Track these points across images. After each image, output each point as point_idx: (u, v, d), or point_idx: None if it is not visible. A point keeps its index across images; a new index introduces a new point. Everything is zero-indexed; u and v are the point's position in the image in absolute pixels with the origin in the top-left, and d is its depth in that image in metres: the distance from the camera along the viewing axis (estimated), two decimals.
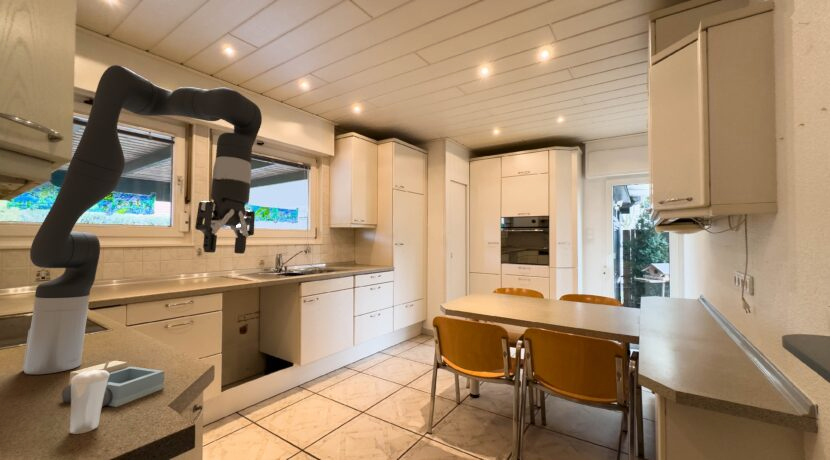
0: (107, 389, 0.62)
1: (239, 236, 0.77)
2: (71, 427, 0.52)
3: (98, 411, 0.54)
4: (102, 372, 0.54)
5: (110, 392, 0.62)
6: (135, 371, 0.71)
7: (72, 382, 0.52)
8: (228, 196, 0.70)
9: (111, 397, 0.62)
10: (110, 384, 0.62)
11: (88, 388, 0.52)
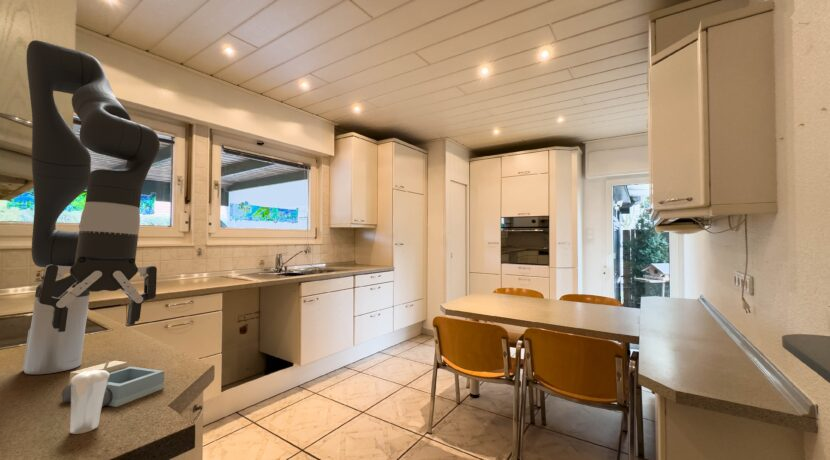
0: (107, 389, 0.62)
1: (66, 305, 0.52)
2: (71, 427, 0.52)
3: (98, 411, 0.54)
4: (102, 372, 0.54)
5: (110, 392, 0.62)
6: (135, 371, 0.71)
7: (72, 382, 0.52)
8: None
9: (111, 397, 0.62)
10: (110, 384, 0.62)
11: (88, 388, 0.52)
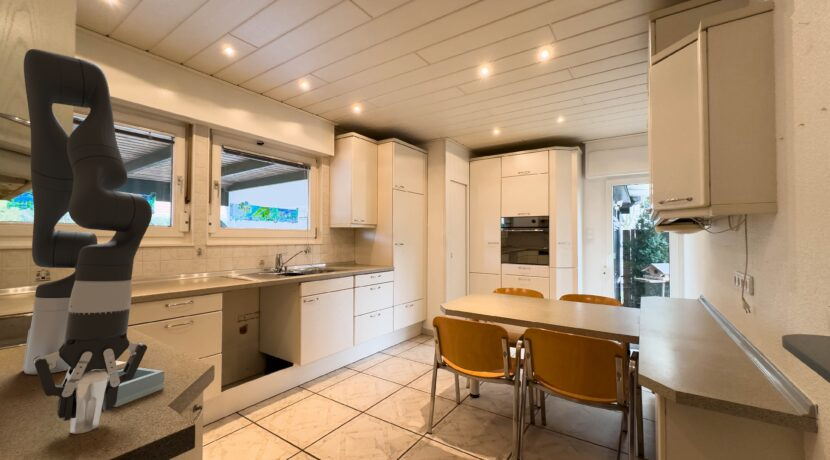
0: None
1: None
2: (71, 426, 0.52)
3: (98, 411, 0.54)
4: (104, 372, 0.55)
5: None
6: None
7: None
8: None
9: None
10: None
11: (89, 388, 0.53)
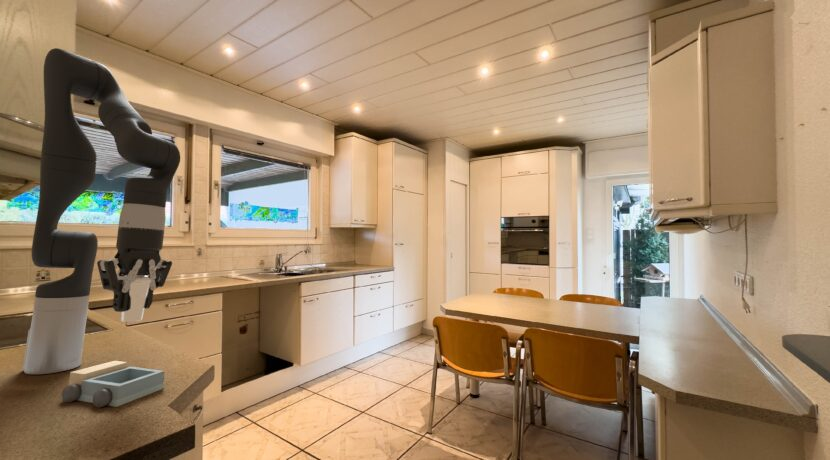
0: (107, 389, 0.62)
1: None
2: (125, 316, 0.66)
3: (144, 307, 0.69)
4: (147, 277, 0.70)
5: (110, 392, 0.62)
6: (135, 371, 0.71)
7: None
8: None
9: (111, 397, 0.62)
10: (110, 384, 0.62)
11: (142, 287, 0.68)
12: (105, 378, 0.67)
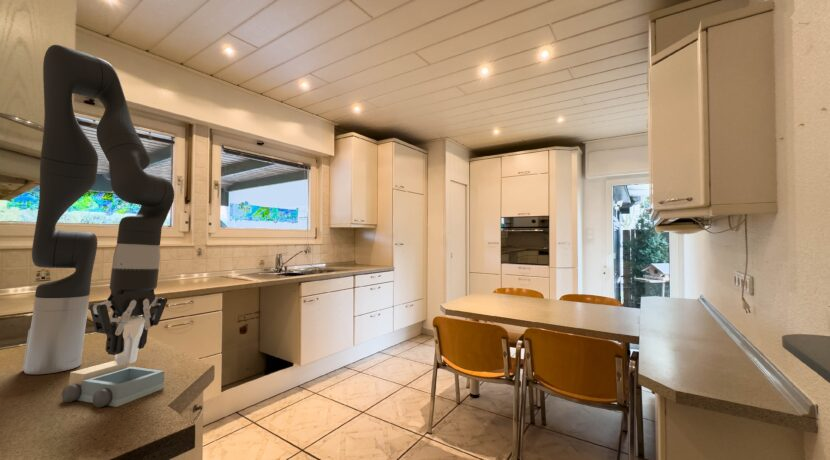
0: (107, 389, 0.62)
1: None
2: (118, 359, 0.65)
3: (138, 348, 0.68)
4: (142, 317, 0.69)
5: (110, 392, 0.62)
6: (135, 371, 0.71)
7: None
8: None
9: (111, 397, 0.62)
10: (110, 384, 0.62)
11: (136, 328, 0.67)
12: (105, 378, 0.67)
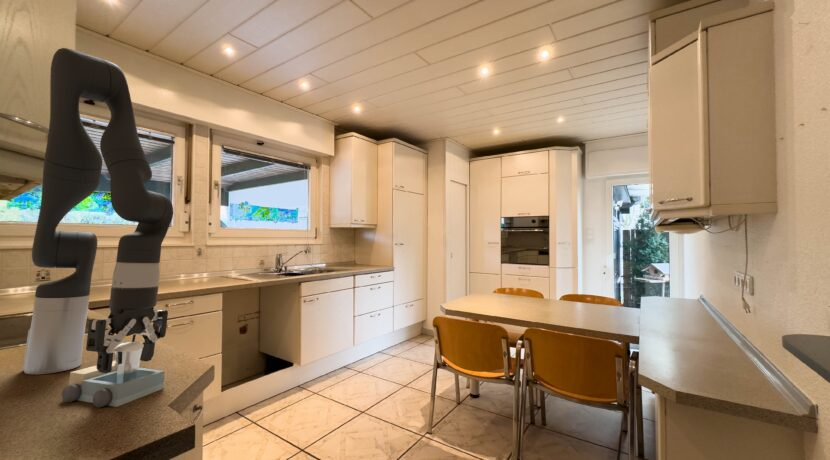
0: (107, 389, 0.62)
1: None
2: None
3: (137, 373, 0.68)
4: (140, 342, 0.68)
5: (110, 392, 0.62)
6: None
7: (119, 350, 0.65)
8: None
9: (111, 397, 0.62)
10: (110, 384, 0.62)
11: (134, 354, 0.67)
12: (105, 378, 0.67)
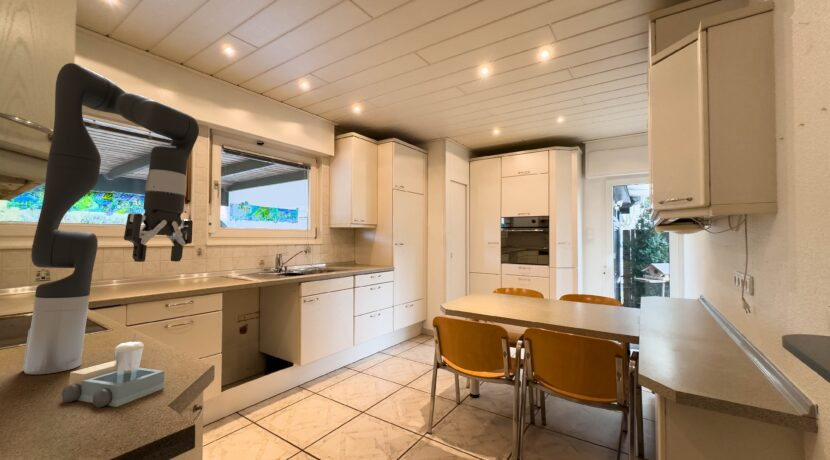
0: (107, 389, 0.62)
1: None
2: None
3: (137, 373, 0.68)
4: (140, 342, 0.69)
5: (110, 392, 0.62)
6: None
7: (120, 350, 0.65)
8: None
9: (111, 397, 0.62)
10: (110, 384, 0.62)
11: (134, 354, 0.67)
12: (105, 378, 0.67)
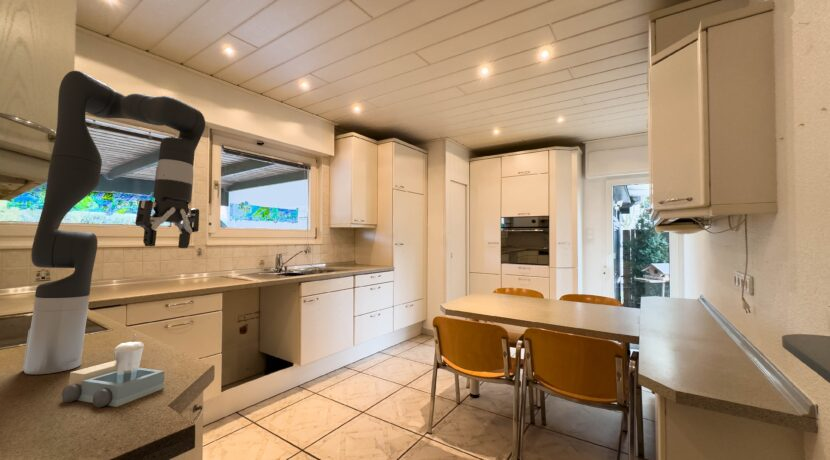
0: (107, 389, 0.62)
1: None
2: None
3: (137, 373, 0.68)
4: (140, 342, 0.69)
5: (110, 392, 0.62)
6: None
7: (120, 350, 0.65)
8: None
9: (111, 397, 0.62)
10: (110, 384, 0.62)
11: (134, 354, 0.67)
12: (105, 378, 0.67)
